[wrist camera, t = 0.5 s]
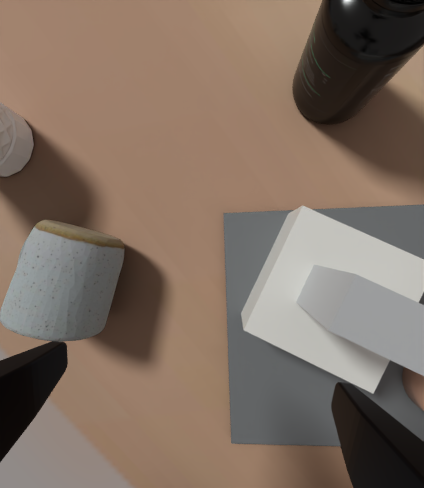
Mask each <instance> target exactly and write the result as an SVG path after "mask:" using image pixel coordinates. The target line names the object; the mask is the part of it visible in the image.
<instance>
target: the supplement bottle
mask: <svg viewBox="0 0 424 488" xmlns="http://www.w3.org/2000/svg"><path fill="white" fill-rule="evenodd" d="M423 45H424V0H322V3H321V6H320V8H319V11H318V14H317V16H316V19H315V22H314V24H313V27H312V30H311V32H310V35H309V38H308V40H307V43H306V46H305V48H304V51H303V54H302V56H301V59H300V62H299V64H298V67H297V70H296V73H295V76H294V80H293V97H294V100H295V103H296V105H297V107H298V108H299V110H300V111H301V112H302V113H303V114H304V115H305V116H306V117H307V118H309V119H311V120H312V121H315V122H318V123H322V124H336V123H341V122H343V121H346V120H348V119H350V118H352V117H353V116H355V115H356V114H357V113H358V112H359V111H360V110H361V109H362V108H363V107H364V106H365V105H366V104H367V103H368V102H369V101H370V100H371V99H372V98H373V97H374V96H375V95H376V94H377V93H378V92H379V91H380V90H381V89H382V88H383V87H384V86H385V85H386V84H387V83H388V82H389V81H390V80H391V79H392V77H393V76H394V75H395V74H396V73H397V72H398V71H399V70H400V69H401V68H402V67H403V66H404V65H405V64H406V63H407V62H408V61H409V60H410V59H411V58H412V57H413V56H414V55H415V54H416V53H417V52H418V50H419V49H420V48H421V47H422V46H423Z"/></svg>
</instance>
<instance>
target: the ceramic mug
mask: <svg viewBox="0 0 424 488" xmlns="http://www.w3.org/2000/svg"><path fill="white" fill-rule="evenodd" d="M124 250H125V247H124V244H123V242H122V241H121V240H120V239H118V238H116V237H113V236H110V235H107V234H104V233H100V232H97V231H94V230H90V229H87V228H83V227H79V226H75V225H71V224H67V223H63V222H59V221H54V220H43V221H40V222H38V223H37V224H36V225H35V227H34V228H33V229H32V231H31V233H30V235H29V236H28V238H27V240H26V241H25V243H24V245H23V247H22V249H21V252H20V255H19V260H18V266H17V269H16V272H15V274H14V276H13V278H12V281H11V284H10V286H9V289H8V292H7V294H6V297H5V299H4V302H3V305H2V307H1V311H0V321H1V323H2V324H3V325H4V326H5V327H6V328H7V329H9V330H11V331H13V332H15V333H17V334H20V335H23V336H28V337H32V338H36V339H40V340H47V341H75V340H82V339H86V338H89V337H92V336H95V335H97V334H99V333H100V332H101V331H102V330H103V329H104V327H105V325H106V322H107V318H108V314H109V311H110V307H111V304H112V300H113V296H114V293H115V289H116V285H117V281H118V278H119V275H120V271H121V268H122V264H123V260H124Z"/></svg>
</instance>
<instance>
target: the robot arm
mask: <svg viewBox="0 0 424 488" xmlns="http://www.w3.org/2000/svg"><path fill="white" fill-rule="evenodd" d="M67 364H68V361H67V345H66V343H64V342H59V341H52V342H49V343H46V344H44V345H41V346H38V347H36V348H33V349H30V350H28V351H25V352H22V353H20V354H17V355H14V356H12V357H9V358H6V359H4V360H1V361H0V462H1V461H2V459H3V458H4V457H5V455H6V454H7V453H8V452H9V450H10V449H11V448H12V446H13V445H14V444H15V442H16V441H17V440H18V439H19V437H20V436H21V435H22V433H23V432H24V431H25V430H26V428H27V427H28V426H29V424H30V423H31V422H32V420H33V419H34V418H35V416H36V415H37V413H38V412H39V410H40V409H41V408H42V406H43V404H44V403H45V401H46V400H47V398H48V397H49V395H50V394H51V392H52V391H53V389H54V388H55V386H56V384H57V383H58V381H59V380H60V378H61V377H62V375H63V374H64V372H65V370H66V368H67ZM331 410H332V415H333V418H334V422H335V426H336V430H337V434H338V438H339V441H340V445H341V449H342V453H343V457H344V460H345V464H346V467H347V471H348V474H349V477H350V480H351V482H352V485H353V488H424V441H423V440H421V439H420V438H419V437H418V436H416V435H415V434H414V433H413V432H411V431H410V430H409V429H408V428H406V427H405V426H404V425H403V424H401V423H400V422H399V421H398V420H396V419H395V418H394V417H393V416H391V415H390V414H389V413H388V412H386V411H385V410H384V409H383V408H381V407H380V406H379V405H378V404H376V403H375V402H374V401H373V400H371V399H370V398H369V397H368V396H366V395H365V394H364V393H363V392H361V391H360V390H359V389H358V388H356V387H355V386H354V385H353V384H351V383H347V382H337V383H336V385H335V388H334V393H333V397H332V402H331Z"/></svg>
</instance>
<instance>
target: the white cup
mask: <svg viewBox="0 0 424 488" xmlns="http://www.w3.org/2000/svg"><path fill="white" fill-rule="evenodd" d="M33 146H34V142H33V136H32V130H31V129H30V127H29V126H28V124H27V123H26V121H25V120H24V118H23V117H21V116H20V115H18V114H17V113H15V112H14V111H12V110H11V109H9V108H8V107H6V106H5V105H3V104H2V103H0V177H8V176H10V175H12V174H14V173H17V172H19V171H21V170H22V168H23V167H24V166H25V165H26V164H27V162H28V161H29V160H30V157H31V154H32V150H33Z"/></svg>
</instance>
